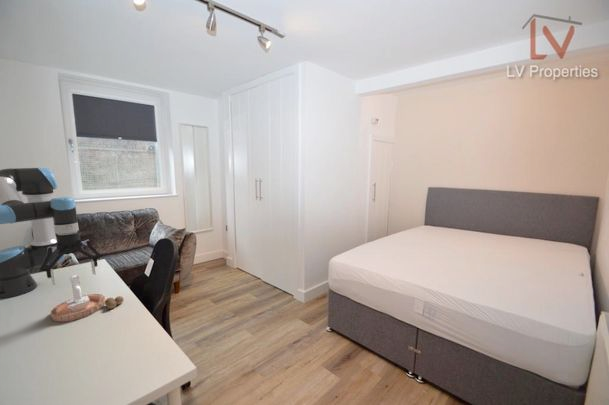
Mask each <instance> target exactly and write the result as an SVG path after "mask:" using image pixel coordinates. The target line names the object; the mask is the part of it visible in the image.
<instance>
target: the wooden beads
mask: <svg viewBox="0 0 609 405" xmlns="http://www.w3.org/2000/svg"><path fill="white" fill-rule="evenodd" d="M123 302H124V297H123V296H116V297H115V298H113V297H108V298H105V305H104V306H106V308H107V309H109V310H110V309H111V310H113V309H115V308H116V306H117V305H121V304H123Z"/></svg>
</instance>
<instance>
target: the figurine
mask: <svg viewBox="0 0 609 405" xmlns="http://www.w3.org/2000/svg"><path fill="white" fill-rule="evenodd" d="M69 280H70V283H71V289H72V296H73V298H74V299H73V298H72V299H73V300H70V299H68V300H69V301H68V300H66V301H67V304H68V307H69V308H70V309H71V310H72V311H73V312H76V311H79V310H82V309H85V308H87V306H88V303H89V301H90V300H89V297H88V295H89V294H85V295H86V296H84V295H82V289H81V283H80V280H81V279H80V276H79V275H72V276H71V277H70V278H69ZM82 296H83V297H82Z"/></svg>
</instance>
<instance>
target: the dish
mask: <svg viewBox="0 0 609 405" xmlns="http://www.w3.org/2000/svg"><path fill="white" fill-rule="evenodd" d="M86 295H88V297H89V300H90V301H89V303H88V306H87V308H85V309H82V310H79V311H76V312H73V311H72V310H71V309H70V308H69V307H68V304H67V301H69V300H73V299H74V297H73V298H70V299H67V300H66V301H63V302H62V303H59V304H57V305H56V306H55V307H53V308H52V310H50V316H51V317H50V318H51V319H52V320H53V321H54V322H58V323H65V322H72V321H76V320H79V319H83V318H86V317H88V316H91V315H92V314H95V313H96V312H98V311H100V310H101V309H103V307H104V306H106V305H105V301H106V297H105V295H103V294H100V293H92V294H85V295H82V297H83V296H86Z"/></svg>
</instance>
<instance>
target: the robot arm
mask: <svg viewBox="0 0 609 405" xmlns="http://www.w3.org/2000/svg"><path fill="white" fill-rule="evenodd" d="M57 189H58V184H57V180H56V177H55V175H54V173H53V171H52V170H50V169H49V168H45V167H25V168H24V167H23V168H21V167H20V168H19V167H17V168H3V169H0V225H5V224H15V223H16V224H17V223H22V222H29V221H30V224H31V229H32V235H33V241H31V242H30V246H28V247H26V246H25V245H17V246H15V245H14V246H12V247H11V246H10V247H8V248H4V249H1V250H0V300H2V299H9V298H14V297H18V296H21V295H24V294H27V293H29V292H31V291H33V290H35V289H37V287H38V284H37V281H36V280H35V279H34V277H33V276H32V274H31V273H30V270H31V269H35V268H39V272H46V277H47V279H51V284H52V286H56V281H55V280H56V279H55V275H54V270H53V267H54V266H55V265H56V264H57V263H60V262H62V261H63V260H64V259H65V258H66V257H65V256H66V255H67V256H68V255H70V254H76V253H78V252H79V253H81V254H82V255H84V256H86V257H88V258H89V259H91V260H90V265H91V272H92V274H93V275H96V267H98V259H101V258H102V255H101V254H100V253H99V252H98V250H96V249H95V247H93V245H92V244H91V241H90V240H89V239H86V240H84V241H83V240H81V233H80V228H79V223H78V215H77V214H78V213H77V207H76V206H77V204H76V202H75V198H74V197H72V196H60V197H53V198H51V195H53V194H54V190H57ZM19 192H21V194H22V195H23V196H25V197H26V198H27V202H25V201H24V200H23V199H22V197H21V195H20V194H19ZM83 245H84V246H87V247H88V248H89V249H90V250H91V251H92V252H93V254H94V255H93V254H91V253H90V252H88V251H86V250H84V249H83V248H82V246H83Z"/></svg>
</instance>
